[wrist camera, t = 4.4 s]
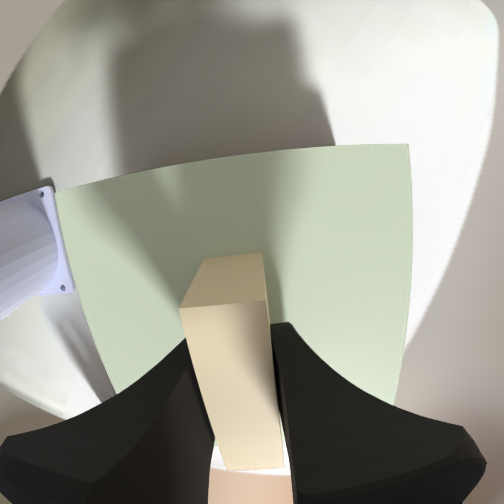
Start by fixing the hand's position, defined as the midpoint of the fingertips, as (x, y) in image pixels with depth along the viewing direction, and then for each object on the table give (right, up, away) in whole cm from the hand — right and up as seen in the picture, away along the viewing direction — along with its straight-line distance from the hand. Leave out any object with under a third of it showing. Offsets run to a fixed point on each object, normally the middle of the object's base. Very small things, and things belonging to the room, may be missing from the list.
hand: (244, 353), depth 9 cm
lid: (0, +1, +3) cm, 3 cm away
